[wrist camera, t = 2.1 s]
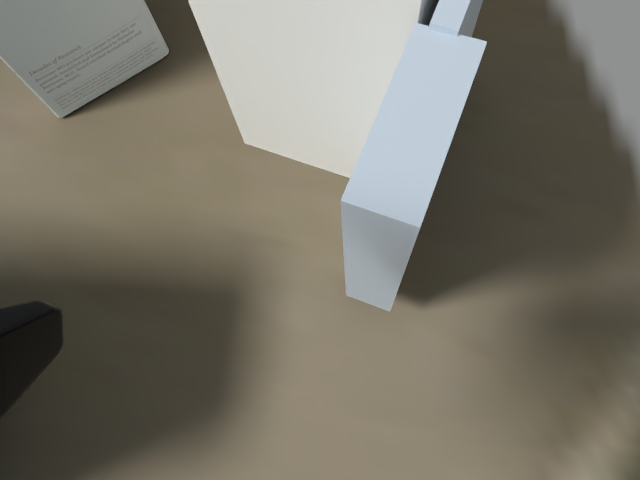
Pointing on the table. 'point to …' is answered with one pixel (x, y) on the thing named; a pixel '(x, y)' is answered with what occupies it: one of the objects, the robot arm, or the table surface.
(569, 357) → the table surface
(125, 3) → the supplement box
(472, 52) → the camera side door
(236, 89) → the large white box
